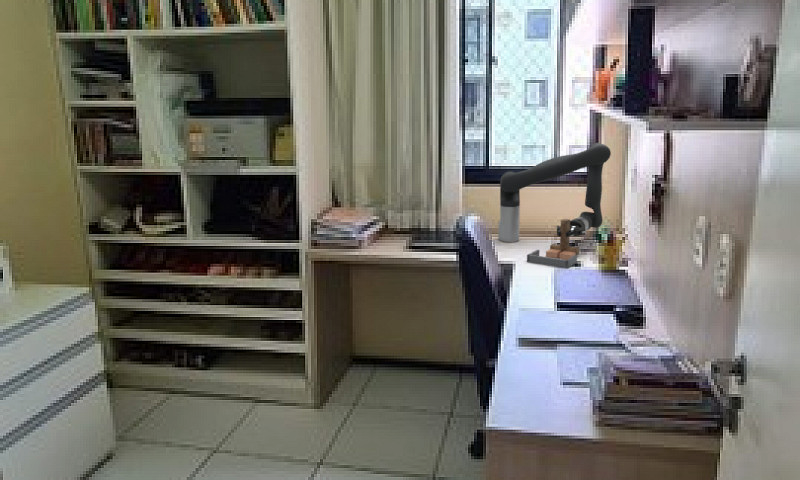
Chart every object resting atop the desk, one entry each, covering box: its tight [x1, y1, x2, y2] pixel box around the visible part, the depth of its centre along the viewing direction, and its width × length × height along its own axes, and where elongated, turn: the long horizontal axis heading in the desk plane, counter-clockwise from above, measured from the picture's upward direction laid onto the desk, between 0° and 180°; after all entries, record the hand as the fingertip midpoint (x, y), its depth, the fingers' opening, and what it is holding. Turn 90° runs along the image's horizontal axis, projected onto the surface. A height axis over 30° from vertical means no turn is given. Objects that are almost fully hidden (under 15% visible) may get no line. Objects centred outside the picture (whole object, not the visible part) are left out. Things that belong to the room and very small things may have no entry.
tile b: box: [558, 251, 576, 260], centre depth 251 cm, size 5×5×2 cm
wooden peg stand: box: [549, 218, 580, 256], centre depth 254 cm, size 12×3×15 cm, turn 52°
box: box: [526, 249, 578, 269], centre depth 246 cm, size 18×10×3 cm, turn 52°
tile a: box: [545, 248, 561, 259], centre depth 255 cm, size 5×5×2 cm
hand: (562, 234), depth 251 cm, fingers closed on wooden peg stand, 3 cm apart
